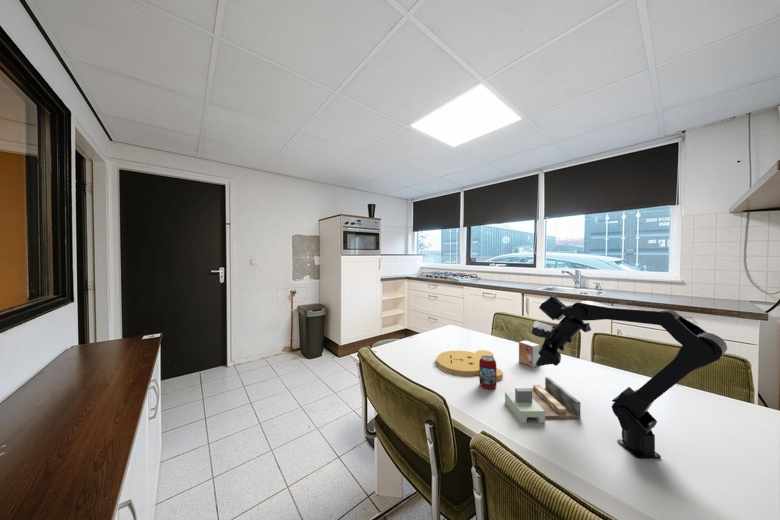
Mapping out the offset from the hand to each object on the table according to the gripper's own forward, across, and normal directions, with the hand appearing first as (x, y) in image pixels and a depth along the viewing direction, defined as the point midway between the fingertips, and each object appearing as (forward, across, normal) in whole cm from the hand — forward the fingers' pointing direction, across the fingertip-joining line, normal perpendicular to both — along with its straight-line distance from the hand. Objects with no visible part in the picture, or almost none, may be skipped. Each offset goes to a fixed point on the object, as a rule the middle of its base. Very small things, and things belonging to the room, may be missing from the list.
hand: (538, 358), depth 96 cm
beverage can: (+24, +3, -7) cm, 26 cm away
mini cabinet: (+14, +13, +5) cm, 20 cm away
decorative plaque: (+37, -12, -18) cm, 43 cm away
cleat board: (+13, +3, +11) cm, 17 cm away
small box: (+27, -31, +6) cm, 41 cm away
